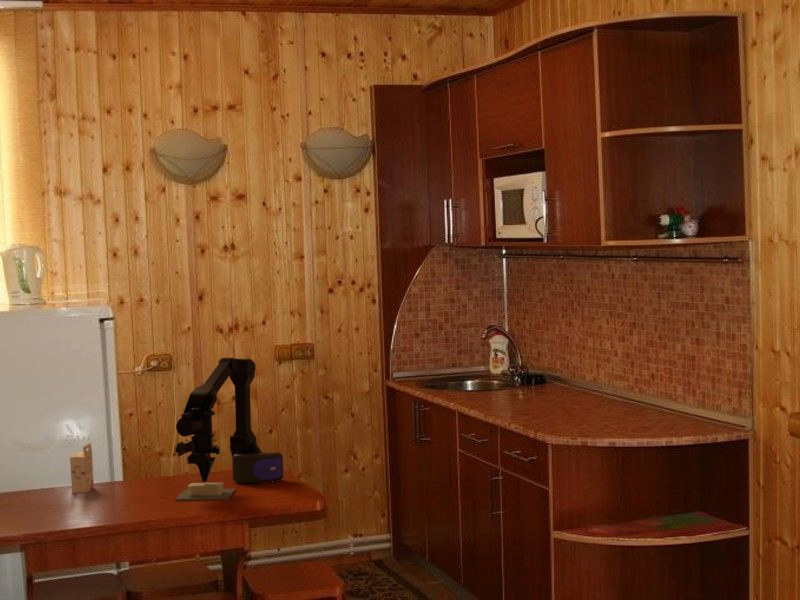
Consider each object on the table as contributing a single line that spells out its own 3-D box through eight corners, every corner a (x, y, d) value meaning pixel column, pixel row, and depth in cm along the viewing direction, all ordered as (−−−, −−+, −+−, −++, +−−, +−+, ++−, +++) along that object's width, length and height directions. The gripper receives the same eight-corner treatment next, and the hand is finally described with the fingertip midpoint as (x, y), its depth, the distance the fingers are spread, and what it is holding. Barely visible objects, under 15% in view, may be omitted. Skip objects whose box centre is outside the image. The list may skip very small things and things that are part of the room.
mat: (184, 491, 372) (184, 489, 372) (235, 490, 372) (235, 488, 372) (175, 500, 359) (175, 498, 359) (227, 499, 359) (227, 497, 359)
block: (191, 482, 368) (187, 486, 363) (223, 482, 367) (220, 485, 362) (191, 492, 368) (188, 496, 363) (223, 492, 367) (220, 495, 362)
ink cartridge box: (78, 488, 383) (76, 442, 382) (94, 487, 383) (92, 442, 382) (71, 493, 375) (68, 447, 374) (86, 493, 374) (84, 447, 374)
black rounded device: (232, 485, 380) (232, 456, 379) (232, 481, 385) (232, 453, 384) (283, 483, 382) (283, 454, 381) (283, 479, 387) (282, 451, 386)
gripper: (184, 427, 375) (185, 476, 376) (169, 436, 356) (171, 488, 357) (219, 426, 374) (220, 475, 375) (206, 436, 356) (208, 487, 357)
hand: (204, 481), depth 366 cm, fingers closed
